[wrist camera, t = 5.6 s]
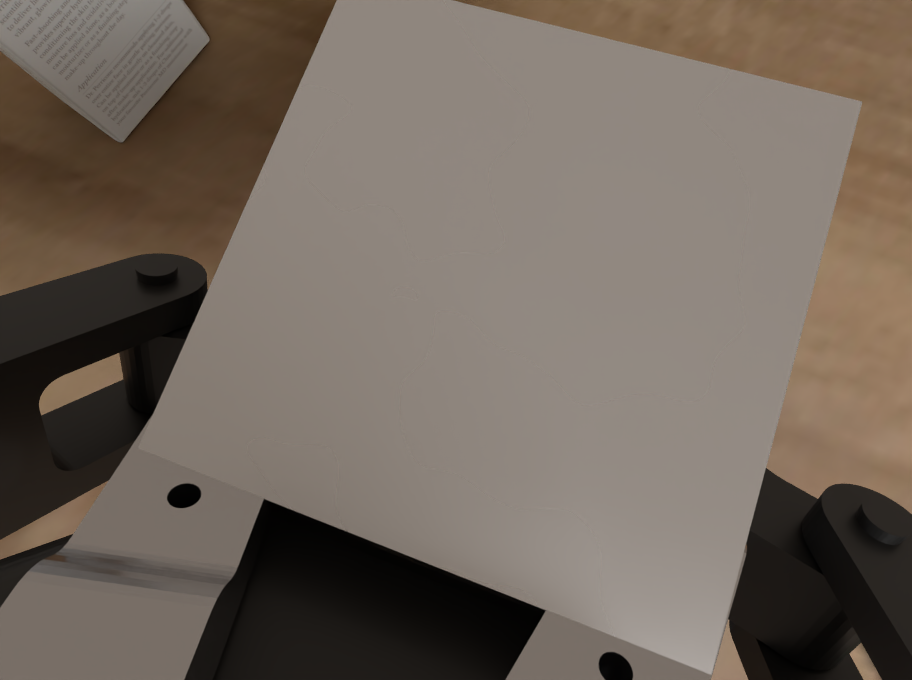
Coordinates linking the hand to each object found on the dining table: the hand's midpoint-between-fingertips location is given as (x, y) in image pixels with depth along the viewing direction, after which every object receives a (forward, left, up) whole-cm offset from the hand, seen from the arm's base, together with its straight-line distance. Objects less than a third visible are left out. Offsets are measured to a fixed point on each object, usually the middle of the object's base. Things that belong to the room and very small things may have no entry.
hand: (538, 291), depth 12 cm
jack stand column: (0, -2, -11) cm, 11 cm away
